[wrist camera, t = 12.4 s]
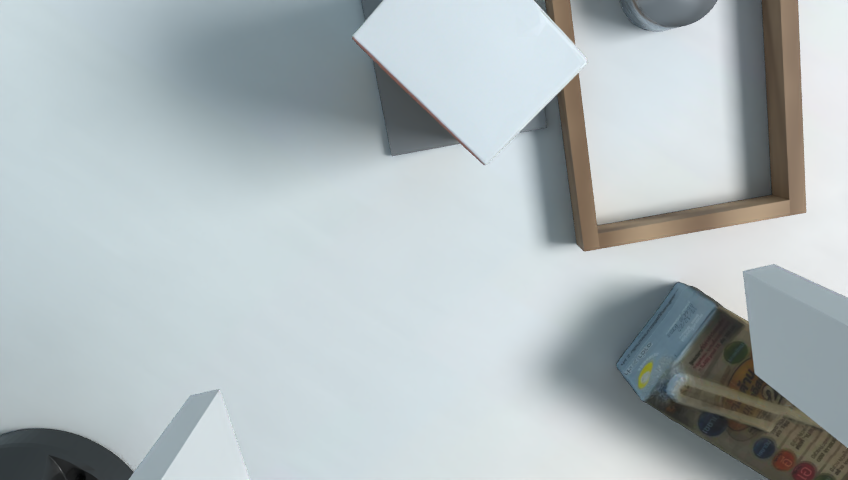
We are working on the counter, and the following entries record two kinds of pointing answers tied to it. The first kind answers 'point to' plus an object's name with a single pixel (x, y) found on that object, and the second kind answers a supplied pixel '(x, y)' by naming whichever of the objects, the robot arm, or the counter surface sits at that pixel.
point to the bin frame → (782, 202)
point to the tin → (665, 12)
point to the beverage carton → (725, 390)
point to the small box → (473, 63)
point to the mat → (415, 113)
